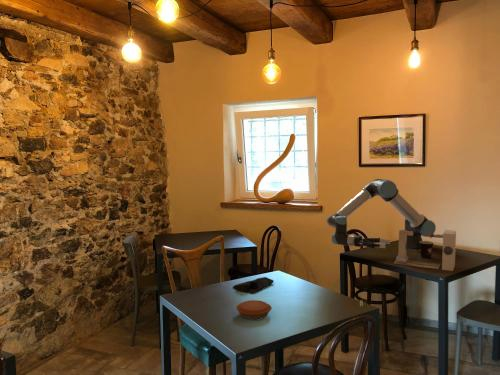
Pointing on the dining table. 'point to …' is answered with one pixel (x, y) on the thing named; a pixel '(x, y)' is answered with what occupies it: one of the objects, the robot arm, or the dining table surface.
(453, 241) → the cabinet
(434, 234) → the gauge plunger
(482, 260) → the dining table surface
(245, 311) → the pie
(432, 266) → the rail bed
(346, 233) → the robot arm
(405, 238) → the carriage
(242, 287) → the dark slate chunk
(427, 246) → the coffee mug
